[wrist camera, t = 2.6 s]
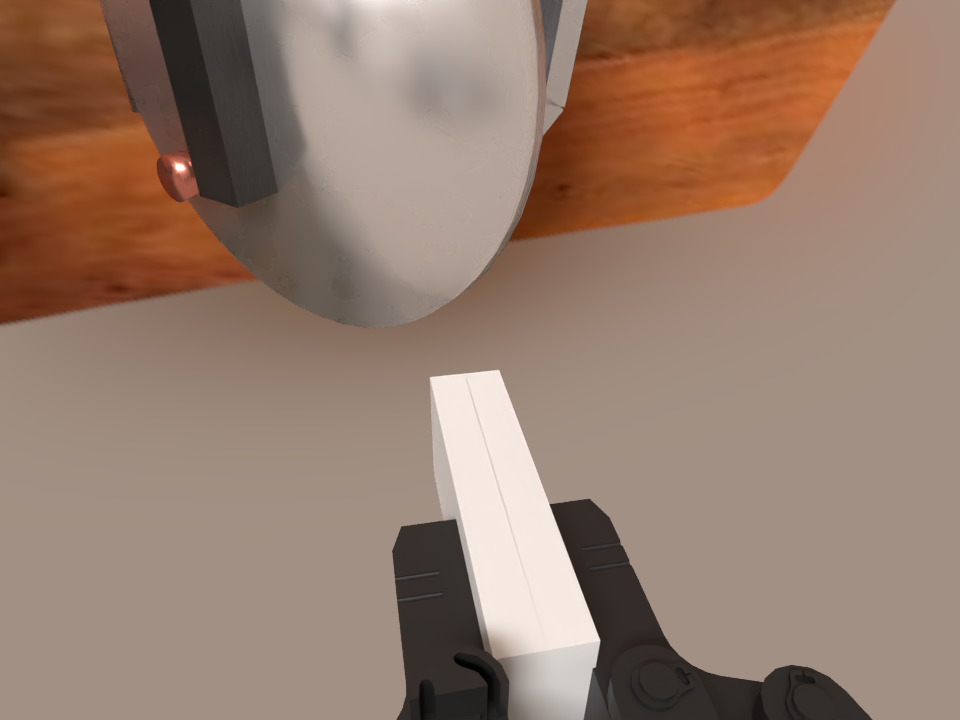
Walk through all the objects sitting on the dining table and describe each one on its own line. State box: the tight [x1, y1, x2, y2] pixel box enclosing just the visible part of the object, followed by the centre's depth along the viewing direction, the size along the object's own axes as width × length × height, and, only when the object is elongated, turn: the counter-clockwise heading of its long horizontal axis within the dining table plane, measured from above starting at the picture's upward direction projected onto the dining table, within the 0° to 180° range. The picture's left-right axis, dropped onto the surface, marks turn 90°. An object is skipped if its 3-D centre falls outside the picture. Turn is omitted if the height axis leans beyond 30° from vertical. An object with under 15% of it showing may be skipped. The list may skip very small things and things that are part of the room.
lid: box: [99, 0, 546, 328], centre depth 24 cm, size 22×21×3 cm
